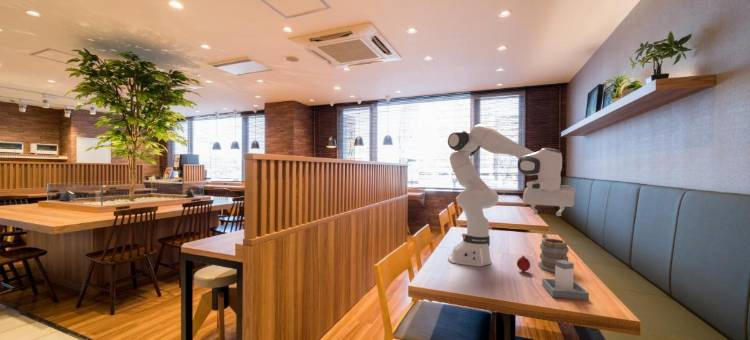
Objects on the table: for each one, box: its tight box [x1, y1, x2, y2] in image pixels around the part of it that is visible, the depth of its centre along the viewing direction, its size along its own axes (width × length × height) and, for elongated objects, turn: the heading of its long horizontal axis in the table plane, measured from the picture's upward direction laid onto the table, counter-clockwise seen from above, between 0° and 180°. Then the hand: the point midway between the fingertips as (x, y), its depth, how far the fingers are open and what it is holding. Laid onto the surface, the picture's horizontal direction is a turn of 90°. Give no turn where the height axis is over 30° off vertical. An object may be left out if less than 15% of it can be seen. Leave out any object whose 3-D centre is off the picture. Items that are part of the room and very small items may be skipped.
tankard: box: [537, 233, 569, 274], centre depth 156 cm, size 20×13×15 cm, turn 168°
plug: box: [554, 260, 575, 291], centre depth 124 cm, size 4×4×12 cm
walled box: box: [541, 277, 590, 302], centre depth 124 cm, size 13×13×3 cm
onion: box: [516, 254, 531, 273], centre depth 148 cm, size 6×6×8 cm
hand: (546, 214), depth 137 cm, fingers open, 8 cm apart
